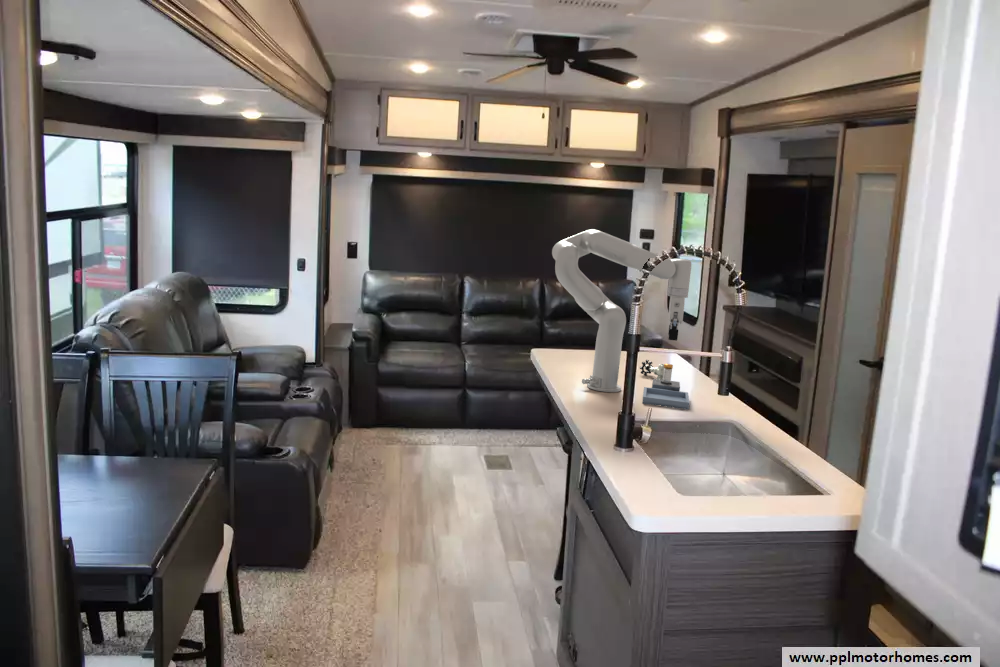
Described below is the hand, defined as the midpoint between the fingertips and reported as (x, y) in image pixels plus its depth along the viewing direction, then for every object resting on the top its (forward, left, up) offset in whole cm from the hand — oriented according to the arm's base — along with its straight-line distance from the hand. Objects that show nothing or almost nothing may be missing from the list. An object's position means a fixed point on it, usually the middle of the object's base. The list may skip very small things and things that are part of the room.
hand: (672, 337), depth 312 cm
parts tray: (-11, -10, -21) cm, 26 cm away
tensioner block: (0, 0, -21) cm, 21 cm away
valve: (+13, +19, -21) cm, 31 cm away
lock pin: (0, 0, -21) cm, 21 cm away
